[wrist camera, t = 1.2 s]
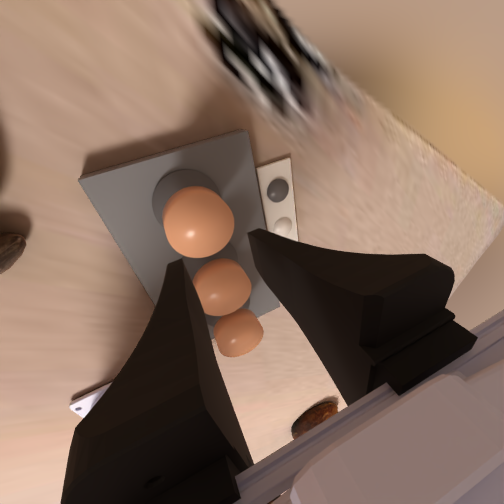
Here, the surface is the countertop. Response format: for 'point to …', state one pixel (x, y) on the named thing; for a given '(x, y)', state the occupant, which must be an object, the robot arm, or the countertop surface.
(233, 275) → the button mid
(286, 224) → the card
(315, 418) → the bread roll
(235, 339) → the button
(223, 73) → the countertop surface
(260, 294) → the board
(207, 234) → the button
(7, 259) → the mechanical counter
